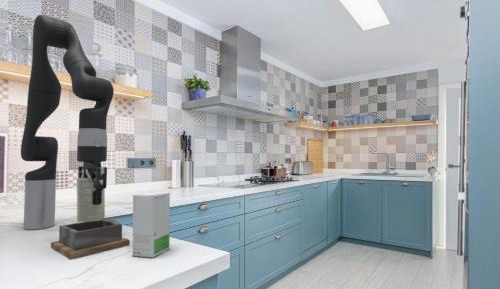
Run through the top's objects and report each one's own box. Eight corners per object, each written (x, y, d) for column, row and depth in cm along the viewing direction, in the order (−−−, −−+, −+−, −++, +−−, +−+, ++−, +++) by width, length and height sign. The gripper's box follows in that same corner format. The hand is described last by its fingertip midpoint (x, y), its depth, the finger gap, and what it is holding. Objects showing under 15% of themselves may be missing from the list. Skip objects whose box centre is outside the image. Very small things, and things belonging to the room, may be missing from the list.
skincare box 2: (152, 258, 71) (153, 195, 72) (129, 256, 73) (130, 194, 74) (170, 248, 79) (171, 191, 80) (149, 246, 81) (150, 191, 82)
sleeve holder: (50, 247, 80) (51, 226, 81) (105, 236, 92) (106, 217, 92) (70, 259, 71) (71, 234, 71) (129, 245, 82) (129, 224, 83)
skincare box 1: (104, 218, 84) (105, 176, 85) (100, 221, 80) (101, 177, 81) (81, 219, 83) (82, 177, 84) (75, 222, 79) (76, 177, 79)
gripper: (68, 145, 84) (67, 202, 84) (88, 143, 75) (87, 207, 74) (95, 146, 90) (94, 199, 89) (117, 144, 81) (116, 204, 80)
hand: (91, 203), depth 82 cm, fingers closed on skincare box 1, 7 cm apart
